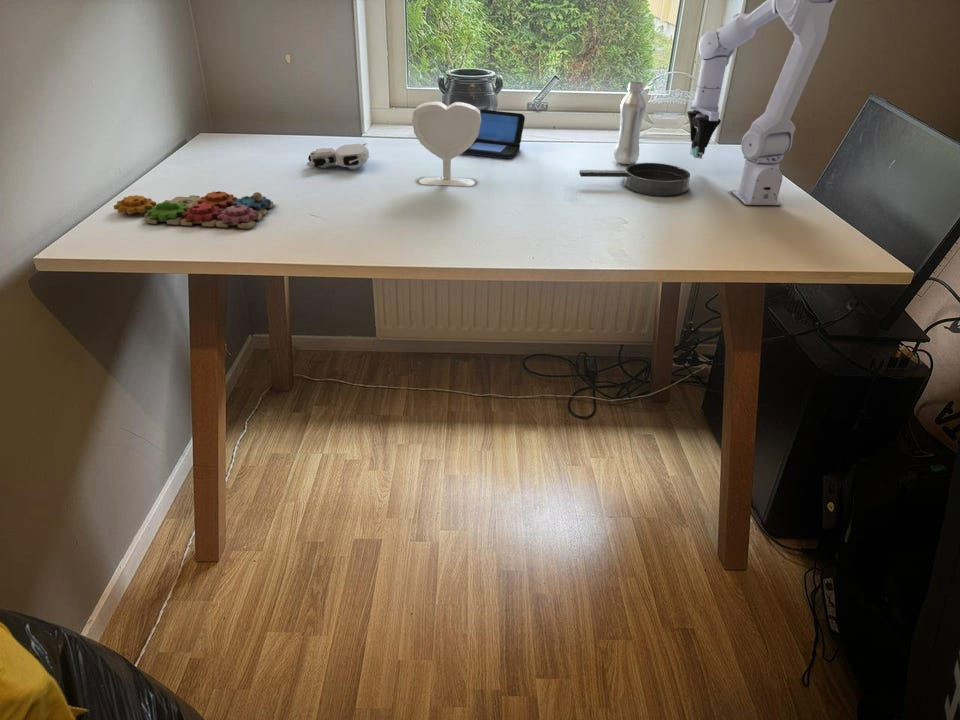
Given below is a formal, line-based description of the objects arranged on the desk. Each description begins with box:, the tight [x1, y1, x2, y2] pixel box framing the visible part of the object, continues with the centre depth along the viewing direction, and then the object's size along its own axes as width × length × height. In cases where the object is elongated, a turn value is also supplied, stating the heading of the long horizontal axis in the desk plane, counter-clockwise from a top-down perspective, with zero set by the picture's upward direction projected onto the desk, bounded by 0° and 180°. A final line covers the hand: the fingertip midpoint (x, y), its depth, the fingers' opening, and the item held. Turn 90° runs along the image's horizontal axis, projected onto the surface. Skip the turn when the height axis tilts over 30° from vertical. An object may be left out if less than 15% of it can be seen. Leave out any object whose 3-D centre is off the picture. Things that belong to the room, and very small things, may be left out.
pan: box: [623, 162, 691, 197], centre depth 165 cm, size 15×15×4 cm
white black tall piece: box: [689, 113, 706, 160], centre depth 171 cm, size 7×5×10 cm
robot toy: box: [306, 143, 370, 170], centre depth 173 cm, size 12×4×15 cm
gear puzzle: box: [113, 190, 274, 230], centre depth 142 cm, size 31×16×4 cm, turn 85°
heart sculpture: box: [411, 100, 481, 187], centre depth 160 cm, size 16×5×18 cm, turn 88°
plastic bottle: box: [613, 81, 647, 165], centre depth 176 cm, size 6×7×20 cm
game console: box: [462, 108, 526, 160], centre depth 187 cm, size 16×13×9 cm
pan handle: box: [579, 169, 627, 178], centre depth 163 cm, size 2×11×1 cm, turn 93°
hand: (698, 144), depth 173 cm, fingers closed on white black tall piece, 5 cm apart
